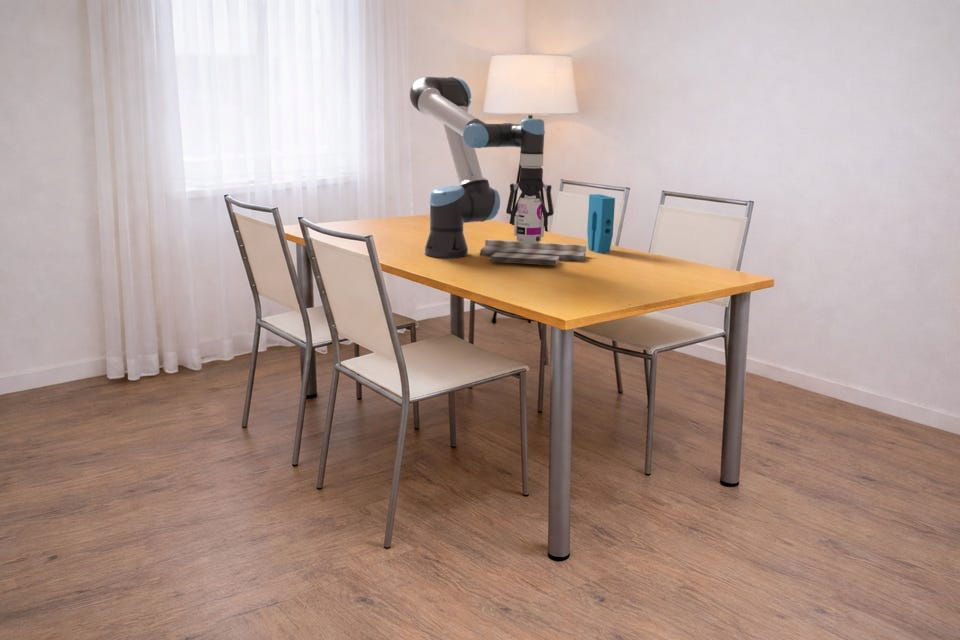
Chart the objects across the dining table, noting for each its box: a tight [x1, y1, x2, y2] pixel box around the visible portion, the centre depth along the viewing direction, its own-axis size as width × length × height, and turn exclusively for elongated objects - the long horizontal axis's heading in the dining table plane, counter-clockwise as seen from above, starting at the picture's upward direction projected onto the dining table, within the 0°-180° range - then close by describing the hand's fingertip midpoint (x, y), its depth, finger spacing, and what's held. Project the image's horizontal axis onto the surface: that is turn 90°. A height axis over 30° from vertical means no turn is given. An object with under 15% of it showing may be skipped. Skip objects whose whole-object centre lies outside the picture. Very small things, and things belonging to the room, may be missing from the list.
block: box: [586, 193, 616, 254], centre depth 315 cm, size 12×5×20 cm, turn 20°
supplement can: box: [516, 195, 543, 244], centre depth 287 cm, size 8×8×15 cm
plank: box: [489, 253, 560, 266], centre depth 291 cm, size 22×12×2 cm, turn 79°
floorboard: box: [479, 239, 587, 263], centre depth 303 cm, size 36×11×4 cm, turn 79°
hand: (529, 235), depth 288 cm, fingers closed on supplement can, 8 cm apart
